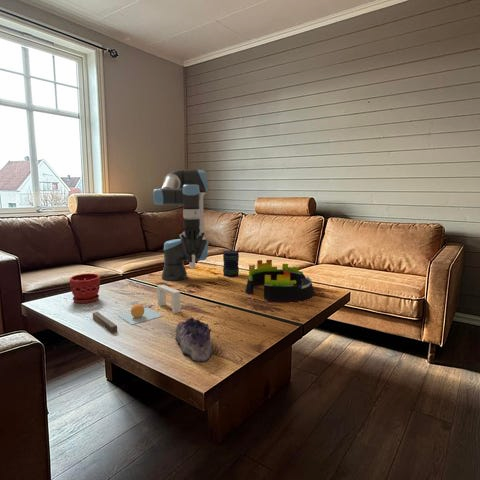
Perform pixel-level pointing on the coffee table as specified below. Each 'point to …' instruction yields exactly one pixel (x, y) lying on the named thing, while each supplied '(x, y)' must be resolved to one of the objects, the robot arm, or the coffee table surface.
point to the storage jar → (230, 263)
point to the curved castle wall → (279, 283)
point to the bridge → (175, 297)
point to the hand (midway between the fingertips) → (192, 268)
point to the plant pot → (85, 287)
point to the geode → (194, 339)
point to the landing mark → (146, 316)
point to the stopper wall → (105, 322)
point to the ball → (137, 311)
